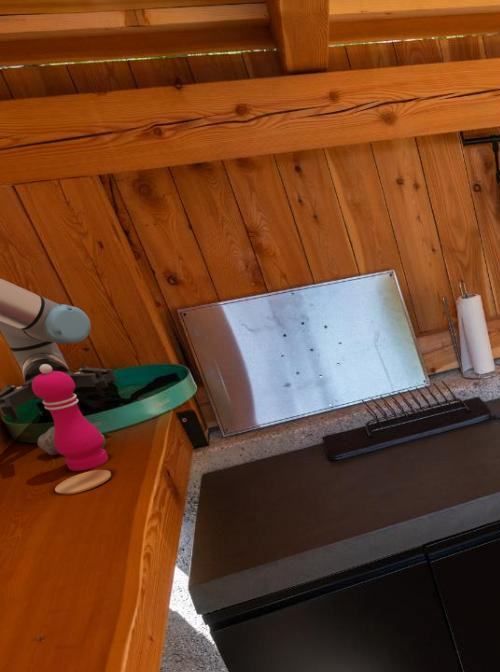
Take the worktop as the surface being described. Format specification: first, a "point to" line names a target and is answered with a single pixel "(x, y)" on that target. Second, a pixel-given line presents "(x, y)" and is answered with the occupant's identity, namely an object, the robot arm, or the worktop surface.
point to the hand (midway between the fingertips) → (57, 401)
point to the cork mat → (83, 482)
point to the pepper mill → (69, 421)
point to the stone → (52, 442)
